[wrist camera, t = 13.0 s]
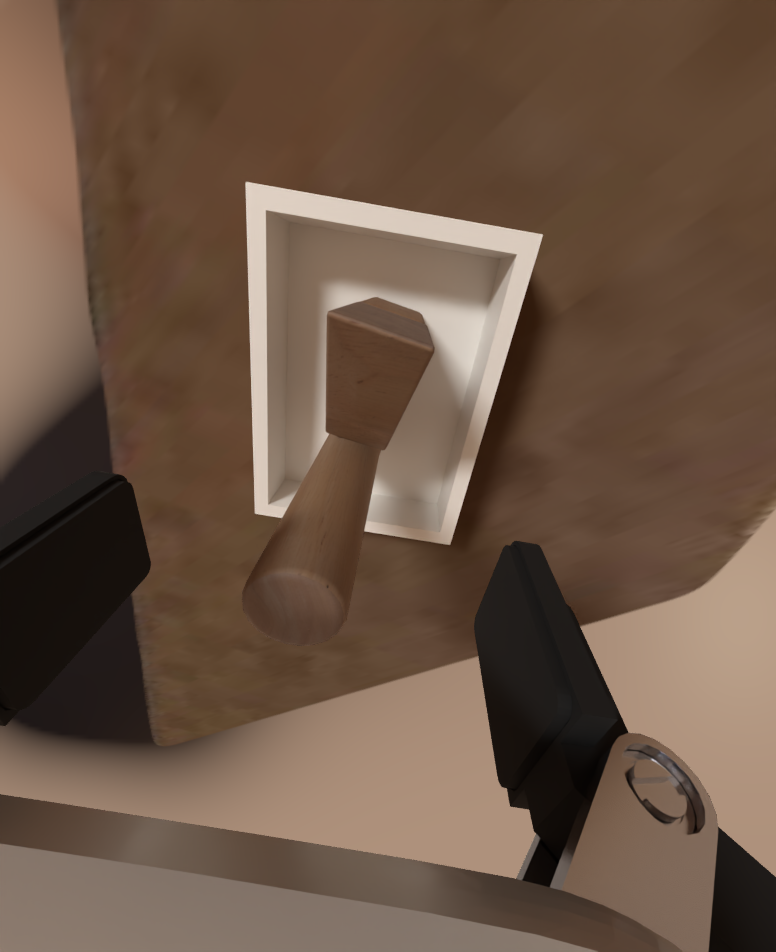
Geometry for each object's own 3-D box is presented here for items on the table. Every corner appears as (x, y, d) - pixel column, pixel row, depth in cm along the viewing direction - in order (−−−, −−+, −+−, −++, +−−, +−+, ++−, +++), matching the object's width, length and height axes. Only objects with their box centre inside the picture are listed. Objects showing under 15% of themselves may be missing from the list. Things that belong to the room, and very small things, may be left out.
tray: (278, 202, 22) (245, 181, 18) (517, 244, 22) (543, 234, 18) (277, 481, 32) (254, 513, 27) (444, 509, 32) (450, 544, 27)
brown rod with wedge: (424, 313, 24) (448, 372, 8) (377, 454, 29) (333, 664, 13) (371, 294, 23) (282, 316, 8) (333, 440, 28) (231, 638, 12)
